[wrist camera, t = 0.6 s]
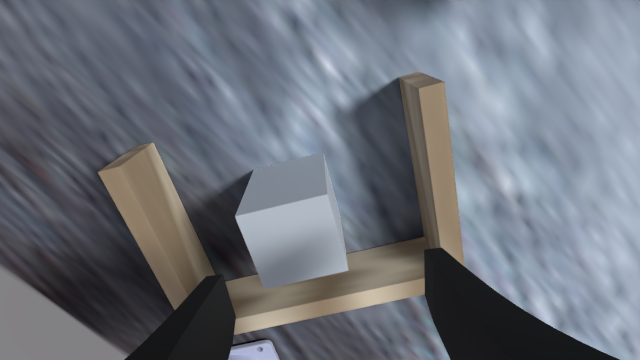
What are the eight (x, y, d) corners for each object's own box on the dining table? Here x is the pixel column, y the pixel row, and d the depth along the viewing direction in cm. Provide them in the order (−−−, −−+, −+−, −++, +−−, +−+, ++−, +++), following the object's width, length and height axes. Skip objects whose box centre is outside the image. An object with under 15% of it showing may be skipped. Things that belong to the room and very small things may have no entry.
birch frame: (209, 298, 26) (193, 343, 22) (134, 147, 21) (97, 172, 17) (443, 246, 24) (466, 285, 21) (419, 71, 20) (444, 81, 16)
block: (275, 228, 24) (264, 289, 18) (253, 169, 22) (234, 216, 16) (339, 213, 23) (348, 270, 18) (323, 151, 22) (327, 194, 16)
